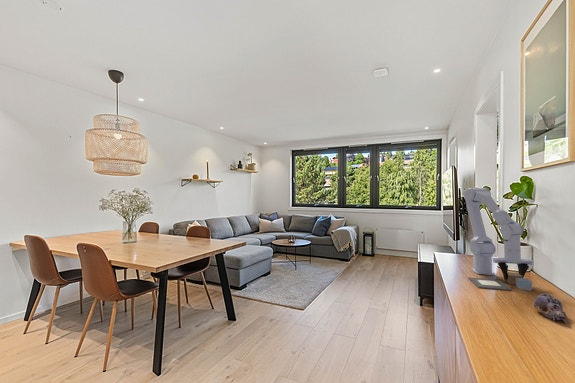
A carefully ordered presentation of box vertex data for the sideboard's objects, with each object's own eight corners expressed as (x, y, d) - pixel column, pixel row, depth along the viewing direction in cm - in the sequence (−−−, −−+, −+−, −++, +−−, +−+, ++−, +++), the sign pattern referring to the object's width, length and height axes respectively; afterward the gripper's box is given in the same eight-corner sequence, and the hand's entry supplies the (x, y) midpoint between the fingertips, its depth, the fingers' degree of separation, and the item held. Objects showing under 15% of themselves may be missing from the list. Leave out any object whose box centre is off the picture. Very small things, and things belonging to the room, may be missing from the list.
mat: (468, 278, 129) (468, 277, 129) (498, 280, 125) (498, 279, 125) (478, 288, 116) (478, 286, 116) (512, 290, 112) (511, 289, 112)
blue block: (515, 286, 117) (515, 277, 117) (527, 287, 116) (526, 278, 116) (520, 289, 113) (520, 280, 113) (532, 290, 112) (531, 281, 112)
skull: (574, 327, 82) (573, 306, 82) (540, 321, 86) (540, 302, 86) (561, 312, 92) (560, 294, 92) (531, 307, 96) (530, 290, 96)
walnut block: (504, 280, 125) (504, 271, 125) (517, 281, 123) (517, 272, 123) (509, 283, 120) (508, 275, 120) (522, 285, 118) (522, 275, 118)
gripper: (496, 250, 120) (497, 280, 120) (537, 252, 115) (538, 283, 115) (490, 247, 127) (491, 276, 127) (528, 249, 122) (529, 278, 122)
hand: (513, 279), depth 121 cm, fingers closed on walnut block, 5 cm apart
